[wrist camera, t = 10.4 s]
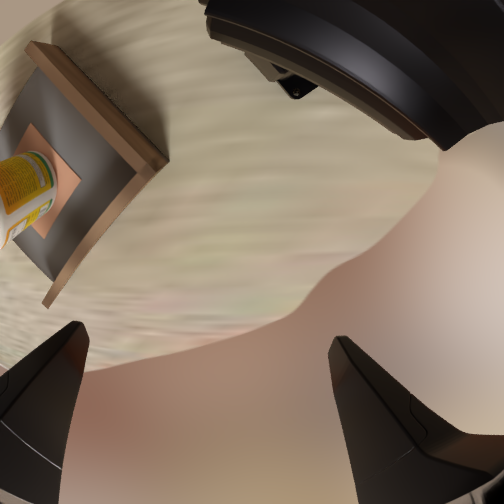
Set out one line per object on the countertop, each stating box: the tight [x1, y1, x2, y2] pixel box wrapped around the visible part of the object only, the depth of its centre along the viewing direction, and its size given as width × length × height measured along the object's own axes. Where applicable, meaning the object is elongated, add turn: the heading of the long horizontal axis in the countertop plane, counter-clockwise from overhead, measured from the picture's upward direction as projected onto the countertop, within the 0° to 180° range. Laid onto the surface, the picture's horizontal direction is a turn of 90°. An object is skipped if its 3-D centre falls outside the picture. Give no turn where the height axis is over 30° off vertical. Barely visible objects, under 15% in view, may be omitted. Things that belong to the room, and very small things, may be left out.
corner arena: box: [0, 41, 170, 309], centre depth 15 cm, size 16×14×4 cm
